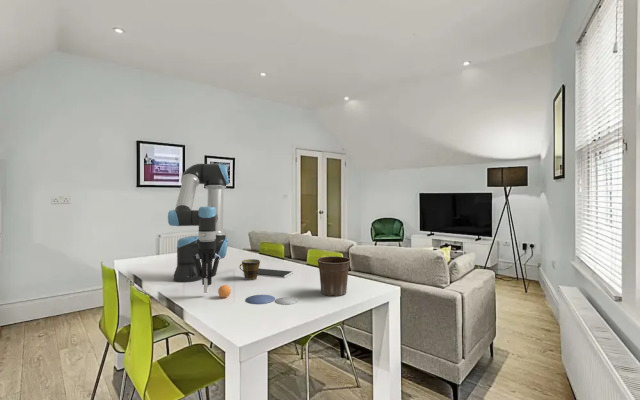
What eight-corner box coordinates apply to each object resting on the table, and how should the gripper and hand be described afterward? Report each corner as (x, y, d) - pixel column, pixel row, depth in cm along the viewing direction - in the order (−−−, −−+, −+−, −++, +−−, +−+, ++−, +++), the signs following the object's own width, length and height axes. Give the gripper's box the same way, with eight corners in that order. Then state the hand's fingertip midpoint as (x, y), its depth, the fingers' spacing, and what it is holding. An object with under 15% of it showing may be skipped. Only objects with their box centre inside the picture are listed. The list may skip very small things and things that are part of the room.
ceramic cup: (251, 275, 191) (251, 258, 191) (263, 278, 186) (263, 260, 185) (233, 280, 181) (233, 262, 181) (245, 283, 175) (246, 264, 175)
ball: (215, 298, 148) (215, 286, 148) (221, 295, 154) (221, 283, 154) (227, 299, 147) (227, 287, 147) (232, 295, 153) (232, 283, 153)
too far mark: (272, 303, 142) (272, 303, 142) (278, 296, 152) (278, 296, 152) (295, 305, 140) (295, 304, 140) (300, 298, 150) (300, 297, 150)
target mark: (240, 303, 142) (240, 302, 142) (251, 294, 155) (251, 293, 155) (270, 304, 140) (270, 304, 140) (278, 295, 153) (278, 295, 153)
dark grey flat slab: (285, 279, 186) (285, 276, 186) (243, 275, 195) (243, 272, 195) (294, 274, 199) (294, 271, 199) (254, 270, 208) (254, 267, 208)
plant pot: (335, 300, 148) (335, 264, 147) (309, 293, 158) (309, 259, 158) (357, 292, 160) (357, 259, 159) (331, 286, 170) (332, 255, 170)
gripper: (189, 241, 149) (189, 293, 149) (216, 241, 147) (216, 295, 147) (198, 239, 156) (197, 289, 156) (224, 239, 154) (223, 290, 154)
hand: (206, 291), depth 151 cm, fingers closed
